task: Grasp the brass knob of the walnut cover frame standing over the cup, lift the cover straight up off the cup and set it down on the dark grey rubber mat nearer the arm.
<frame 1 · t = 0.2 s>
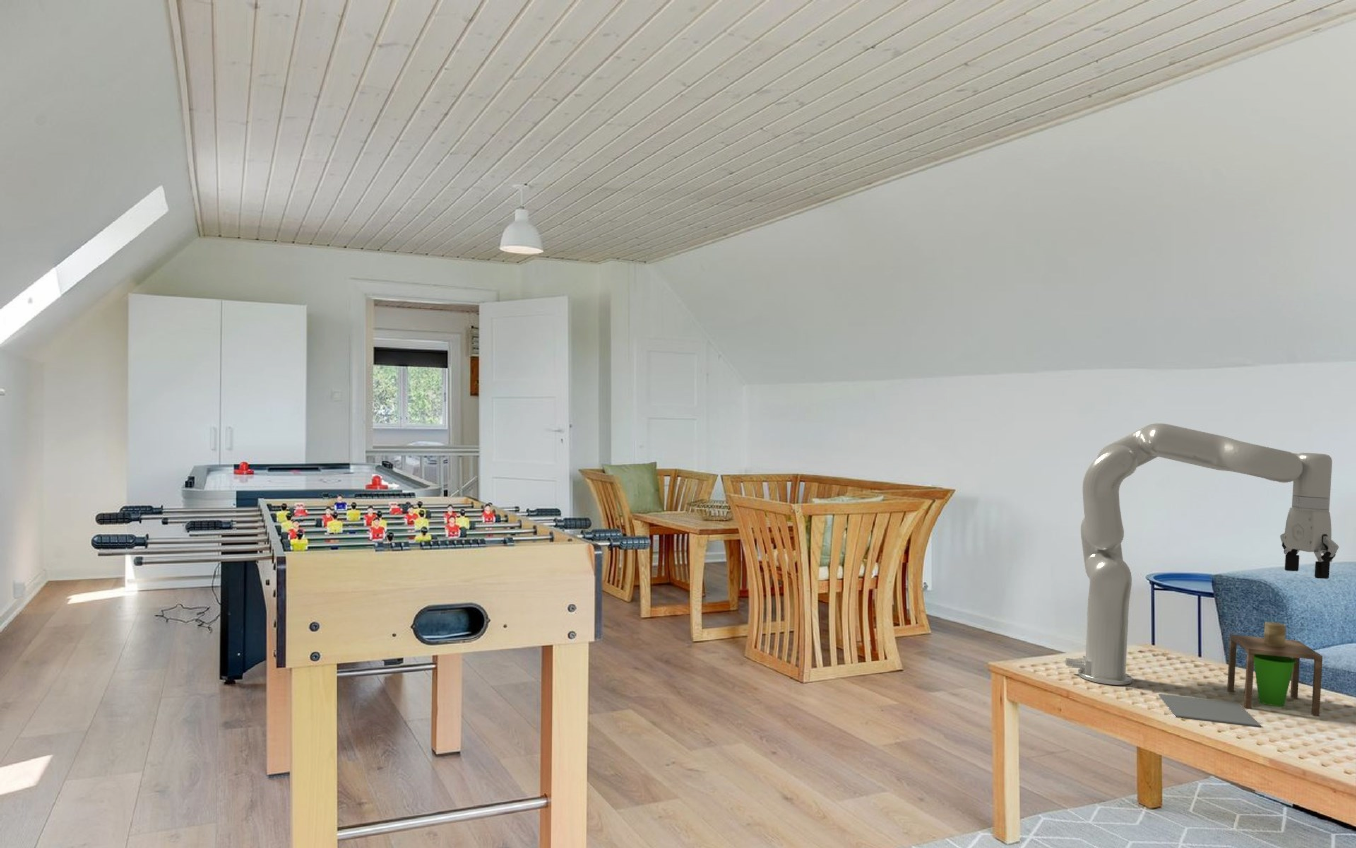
hand: (1306, 574, 224), 31 cm above the table, fingers open, 9 cm apart
cup: (1271, 703, 222), on the table
mat: (1207, 710, 214), on the table
cover: (1271, 702, 222), on the table
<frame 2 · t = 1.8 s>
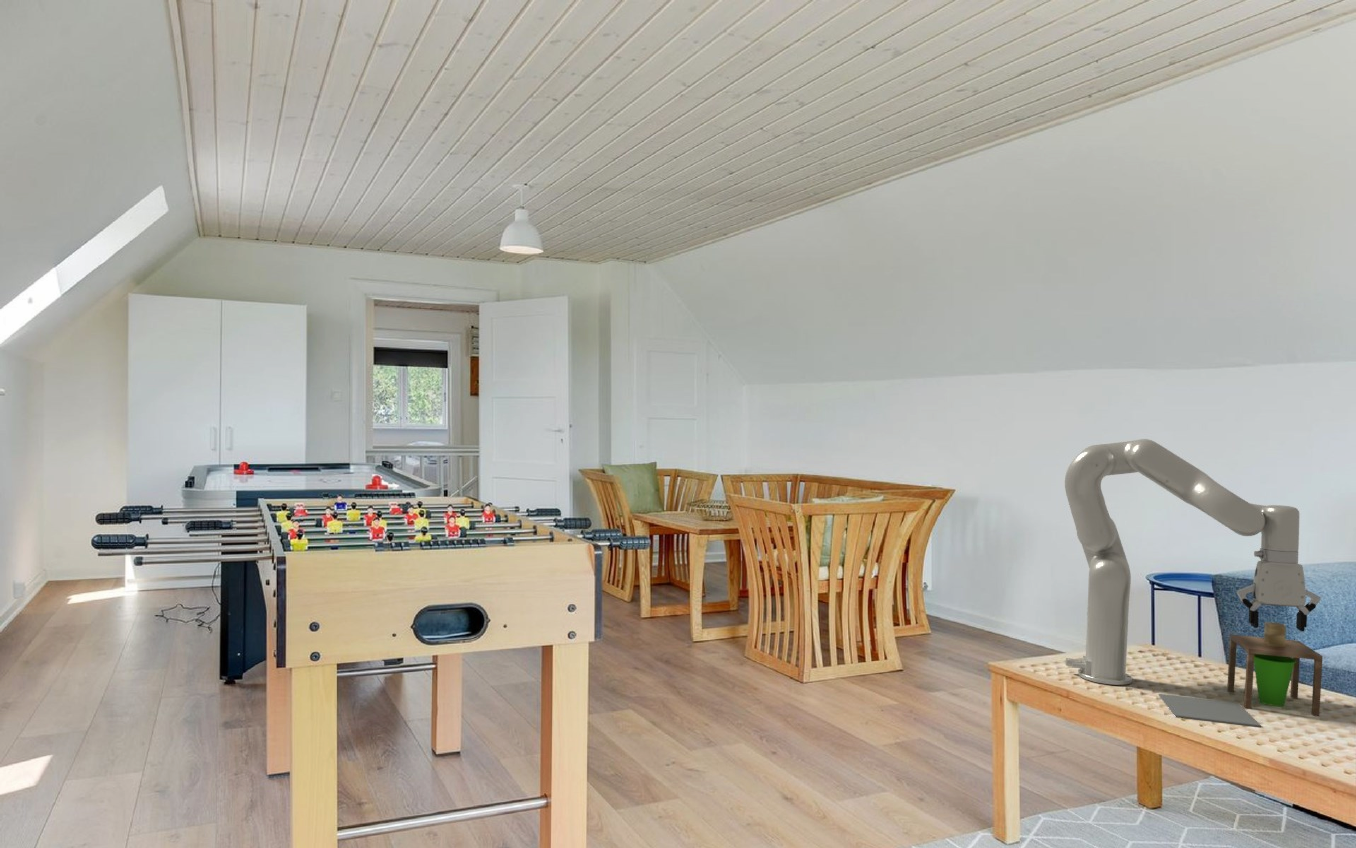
hand: (1277, 628, 221), 18 cm above the table, fingers open, 9 cm apart
nothing on the table moved.
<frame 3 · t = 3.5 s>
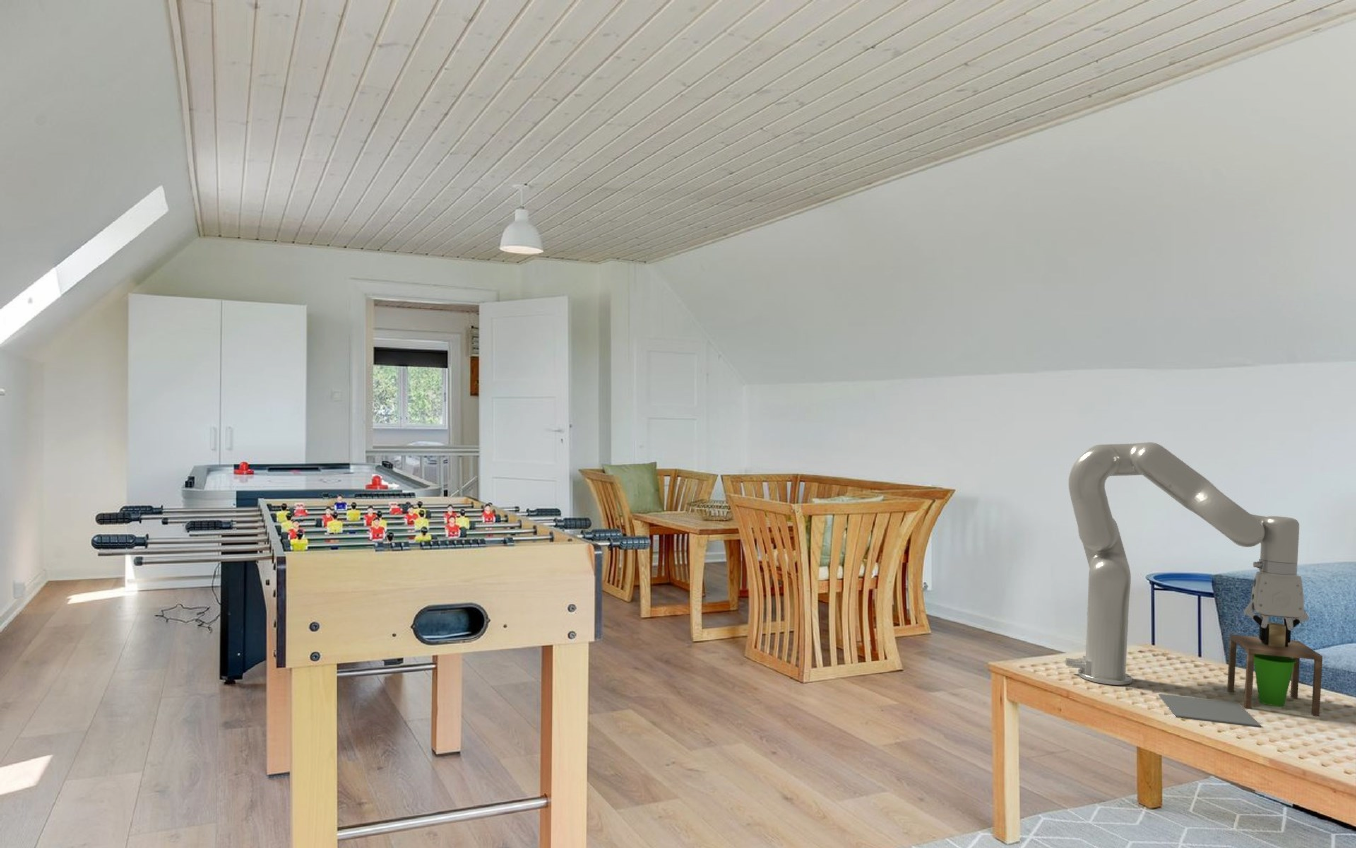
hand: (1274, 643, 222), 14 cm above the table, fingers closed on cover, 3 cm apart
cover: (1271, 702, 222), on the table, touching gripper
everything else where it was.
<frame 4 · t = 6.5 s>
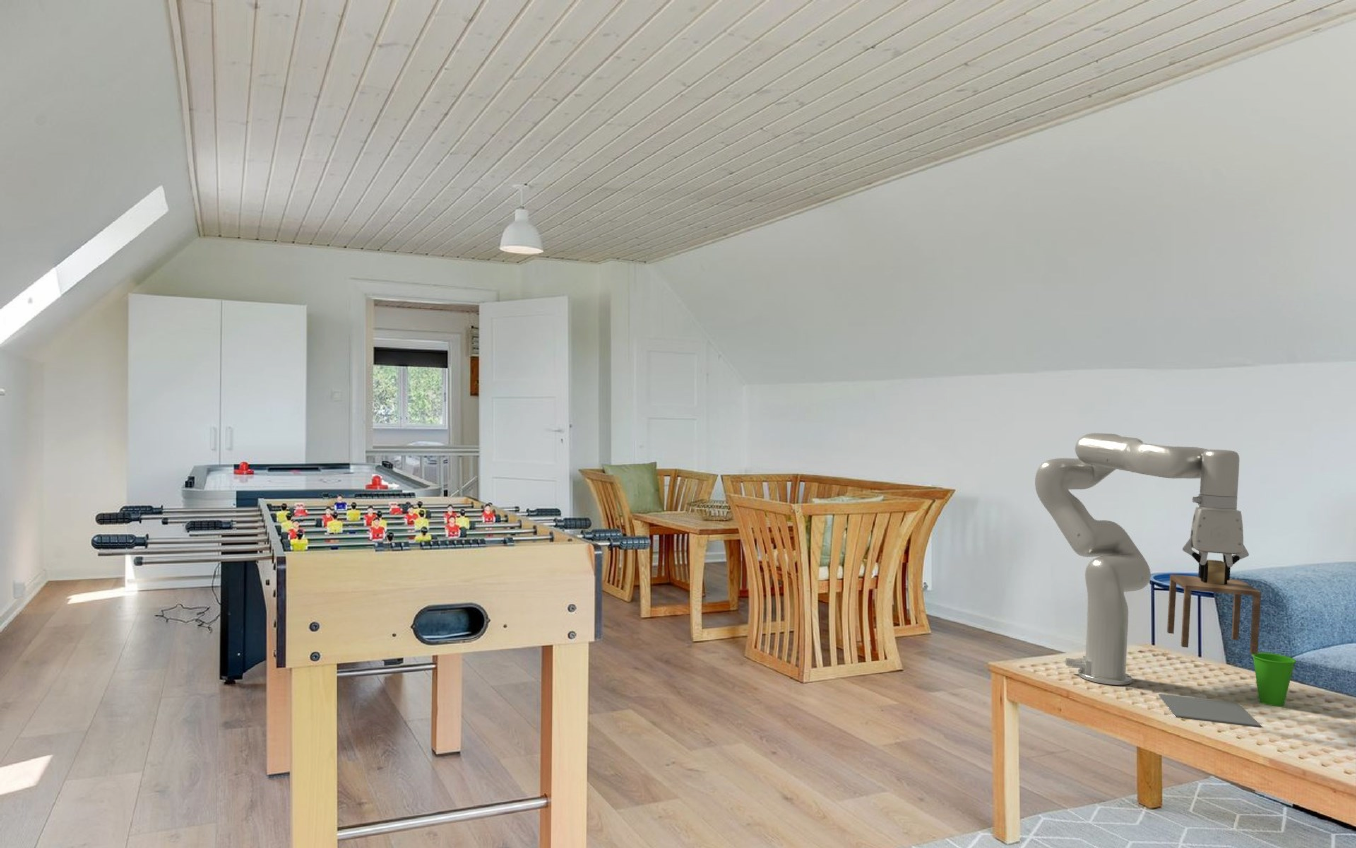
hand: (1213, 581, 213), 30 cm above the table, fingers closed on cover, 3 cm apart
cover: (1210, 643, 214), point 16 cm above the table, touching gripper
everything else where it was.
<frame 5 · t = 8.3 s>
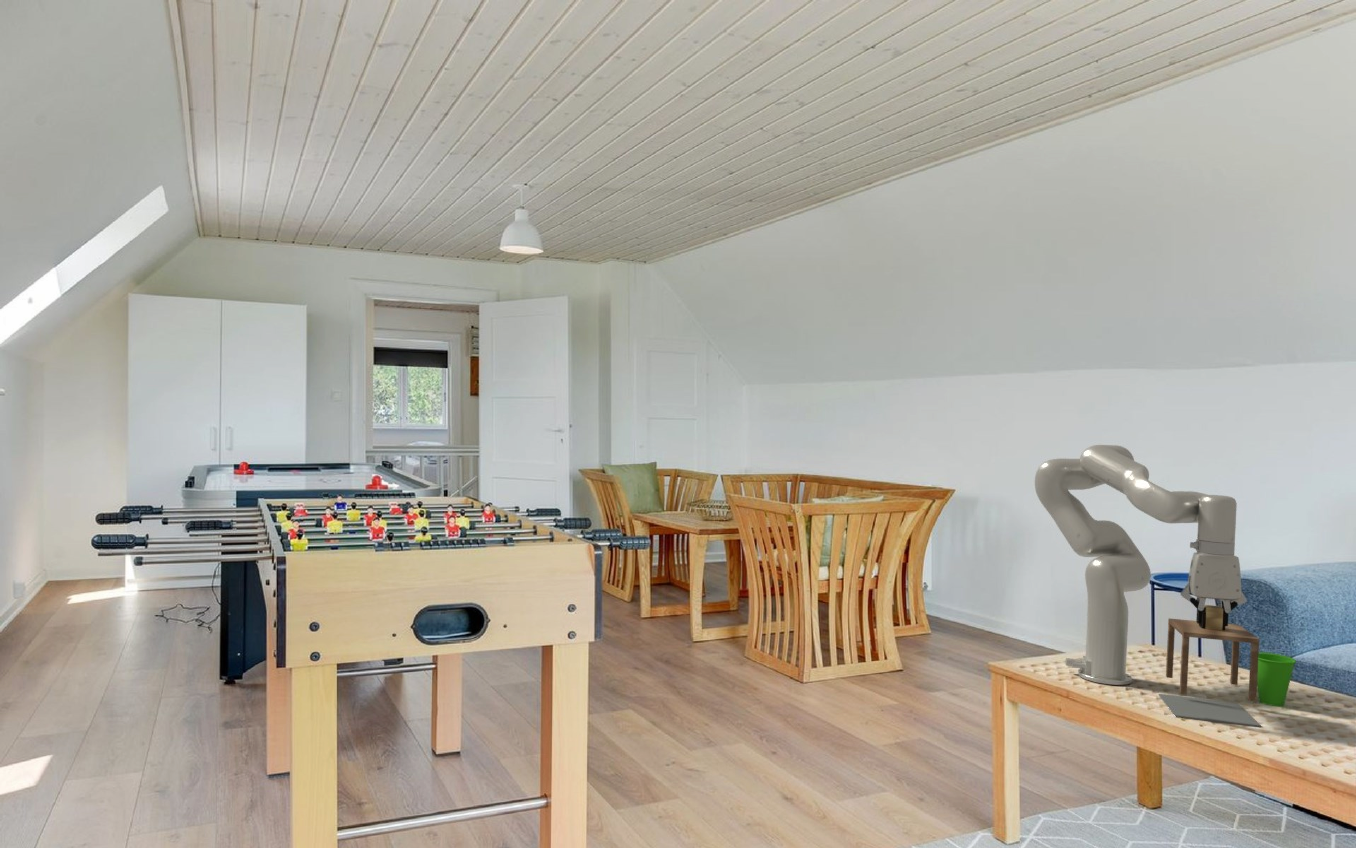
hand: (1211, 627, 213), 19 cm above the table, fingers closed on cover, 3 cm apart
cover: (1209, 688, 214), point 5 cm above the table, touching gripper
everything else where it was.
when the fingers open (16 cm above the table, at t = 9.7 s): cover drops 1 cm, resting on mat.
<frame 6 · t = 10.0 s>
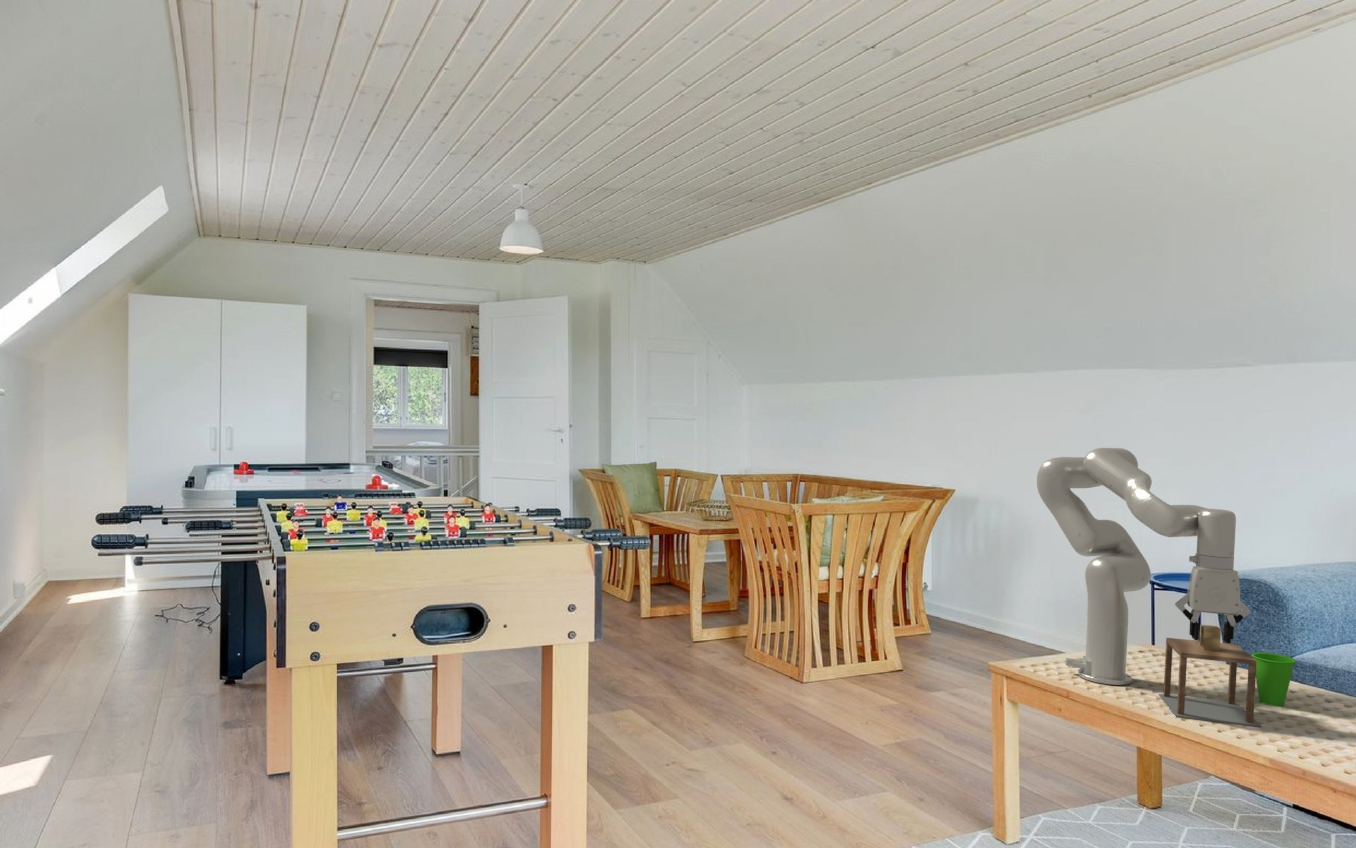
hand: (1210, 639, 214), 16 cm above the table, fingers open, 6 cm apart
cover: (1206, 708, 214), resting on mat
everything else where it was.
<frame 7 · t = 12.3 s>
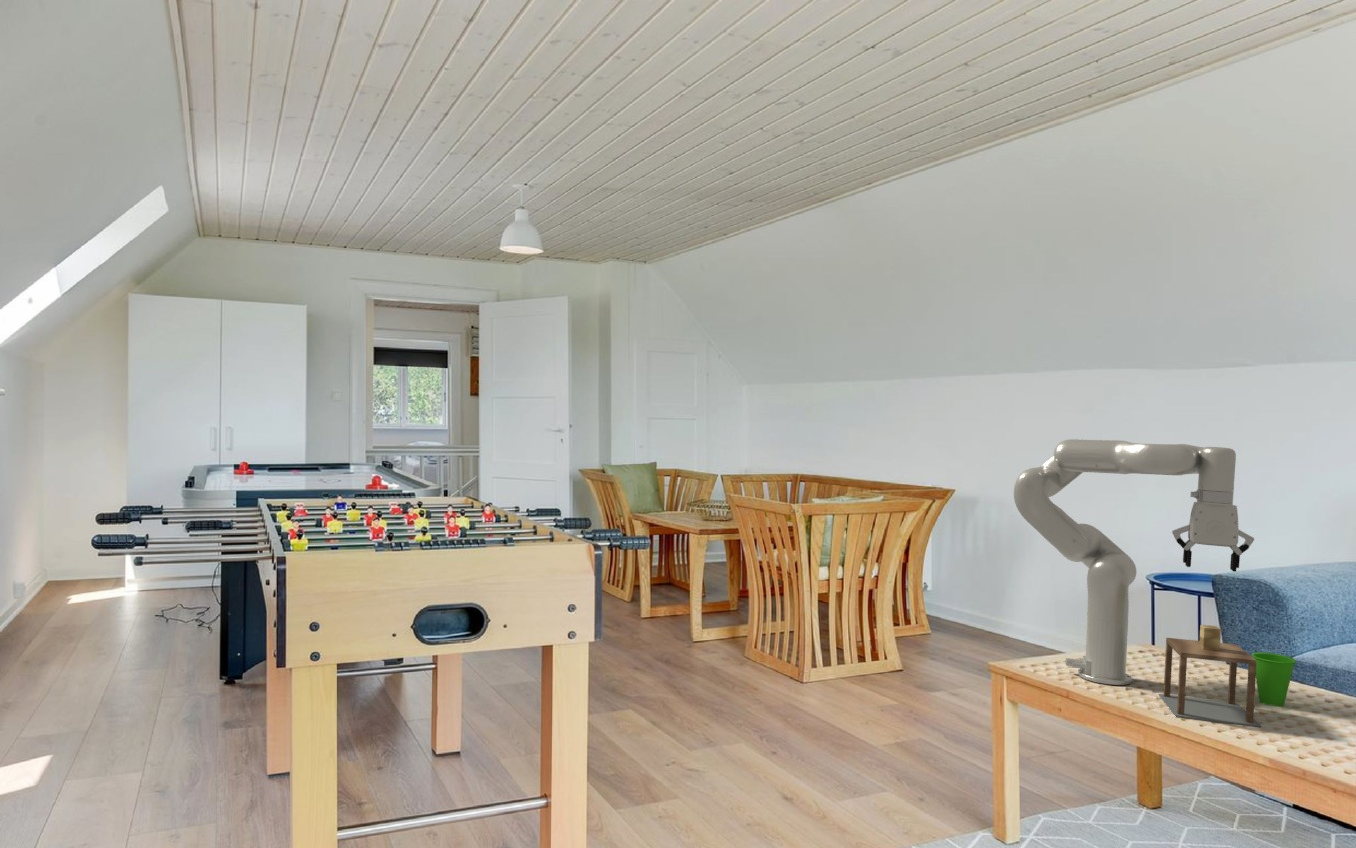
hand: (1210, 568, 224), 31 cm above the table, fingers open, 9 cm apart
nothing on the table moved.
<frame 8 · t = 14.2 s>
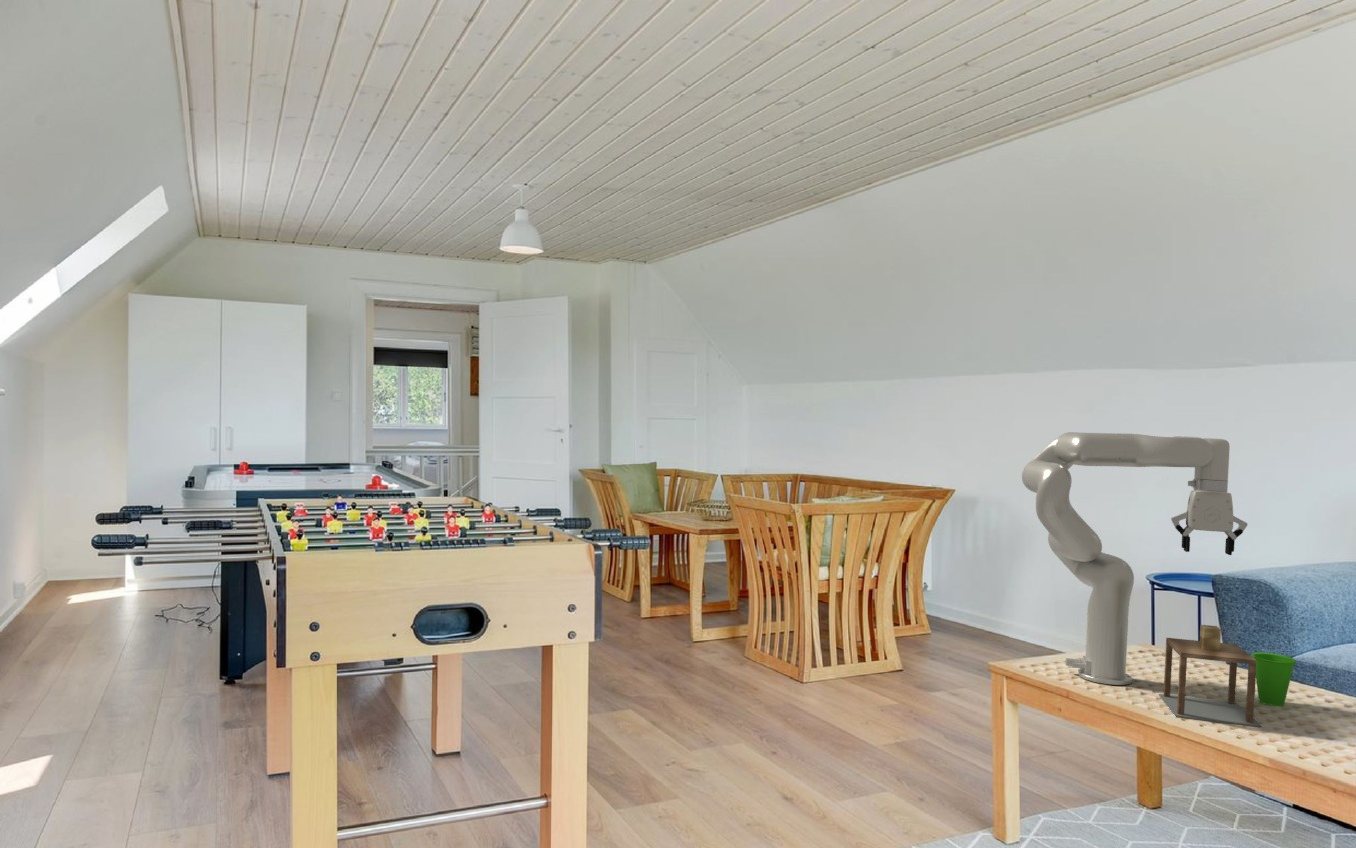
hand: (1207, 552, 238), 33 cm above the table, fingers open, 9 cm apart
nothing on the table moved.
at the end: cover inside the target area on the mat (0.2 cm from its centre), point 0.4 cm above the mat's base; cover tilted 0°; cover touching mat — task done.
